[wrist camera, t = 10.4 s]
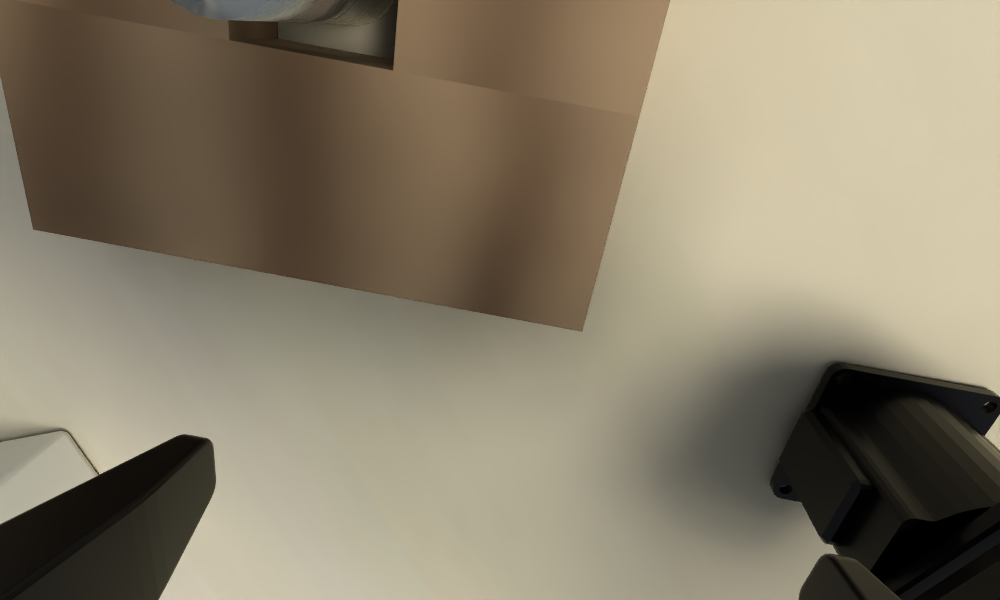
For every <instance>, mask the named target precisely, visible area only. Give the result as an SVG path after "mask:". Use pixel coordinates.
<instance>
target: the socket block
mask: <svg viewBox="0 0 1000 600" xmlns="http://www.w3.org/2000/svg"><path fill="white" fill-rule="evenodd" d="M669 3H670V0H398V13H397V26H396V39H395V52H394V60H389V59H384V58H378V57H373V56H367V55H362V54H357V53H351V52H346V51H341V50H335V49H330V48H324V47H319V46H314V45H308V44H303V43H298V42H292V41H287V40H281V39H278V22H267V21H240V20H218V19H210V18H206V17H202V16H198V15H196V14H194V13H191V12H189V11H187V10H185V9H183V8H181V7H180V6H178V5H177V4H175V3H174V2H172V1H171V0H0V75H1V80H2V85H3V90H4V94H5V99H6V104H7V108H8V113H9V118H10V122H11V127H12V132H13V137H14V141H15V146H16V151H17V155H18V160H19V165H20V169H21V174H22V179H23V184H24V188H25V193H26V198H27V202H28V207H29V212H30V216H31V221H32V226H33V229H34V230H39V231H45V232H50V233H55V234H61V235H66V236H72V237H77V238H82V239H88V240H93V241H98V242H104V243H109V244H115V245H120V246H125V247H131V248H136V249H141V250H147V251H152V252H158V253H163V254H168V255H174V256H179V257H184V258H190V259H195V260H200V261H206V262H211V263H217V264H222V265H227V266H233V267H238V268H243V269H249V270H254V271H260V272H265V273H270V274H276V275H281V276H286V277H292V278H297V279H302V280H308V281H313V282H319V283H324V284H329V285H335V286H340V287H345V288H351V289H356V290H362V291H367V292H372V293H378V294H383V295H388V296H394V297H399V298H404V299H410V300H415V301H421V302H426V303H431V304H437V305H442V306H447V307H453V308H458V309H464V310H469V311H474V312H480V313H485V314H490V315H496V316H501V317H507V318H512V319H517V320H523V321H528V322H533V323H539V324H544V325H549V326H555V327H560V328H566V329H571V330H576V331H582V330H583V326H584V323H585V319H586V315H587V311H588V308H589V304H590V300H591V296H592V292H593V289H594V285H595V281H596V277H597V274H598V270H599V266H600V262H601V259H602V255H603V251H604V247H605V244H606V240H607V236H608V232H609V228H610V225H611V221H612V217H613V213H614V210H615V206H616V202H617V198H618V195H619V191H620V187H621V183H622V180H623V176H624V172H625V168H626V164H627V161H628V157H629V153H630V149H631V146H632V142H633V138H634V134H635V131H636V127H637V123H638V119H639V116H640V112H641V108H642V104H643V100H644V97H645V93H646V89H647V85H648V82H649V78H650V74H651V70H652V67H653V63H654V59H655V55H656V51H657V48H658V44H659V40H660V36H661V33H662V29H663V25H664V21H665V18H666V14H667V10H668V6H669Z"/></svg>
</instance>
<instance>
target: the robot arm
mask: <svg viewBox="0 0 1000 600" xmlns="http://www.w3.org/2000/svg"><path fill="white" fill-rule="evenodd" d="M842 374H845V376H844V377H843V378H842V379H840V380H836V379H837V378H838V377H839V376H840V375H842ZM988 402H989V403H988ZM985 403H987V404H986V405H984V404H985ZM983 405H984V406H983ZM999 415H1000V397H999V396H998V395H997V394H996V393H994V392H993V391H990V390H986V389H980V388H975V387H970V386H964V385H959V384H954V383H948V382H943V381H937V380H932V379H927V378H921V377H916V376H911V375H905V374H900V373H894V372H889V371H884V370H878V369H873V368H868V367H862V366H857V365H852V364H846V363H837V364H834V365H832V366H830V367H829V368H828V369H827V370H826V372H825V373H824V375H823V377H822V379H821V381H820V383H819V385H818V387H817V389H816V391H815V393H814V395H813V397H812V399H811V401H810V403H809V405H808V407H807V409H806V411H805V412H803V413H802V415H801V417H800V419H799V421H798V423H797V425H796V427H795V429H794V431H793V433H792V435H791V437H790V439H789V441H788V443H787V445H786V447H785V449H784V451H783V453H782V455H781V457H780V459H779V461H780V463H779V465H778V466H777V468H776V470H775V472H774V474H773V476H772V478H771V480H770V486H771V489H772V491H773V493H774V495H776V496H777V497H779V498H782V499H787V500H793V501H798V502H801V503H802V505H803V506H804V508H805V510H806V512H807V514H808V516H809V518H810V520H811V521H812V523H813V525H814V527H815V529H816V531H817V533H818V535H819V536H820V538H821V539H822V541H823V542H824V543H825V544H831V545H833V547H834V548H835V550H836V552H837V554H838V555H834V554H825V555H823V556H821V557H820V558H819V559H818V561H817V563H816V564H815V566H814V568H813V569H812V571H811V573H810V574H809V576H808V578H807V579H806V581H805V583H804V584H803V586H802V588H801V590H800V594H799V600H1000V450H999V449H998V448H997V447H996V446H995V445H994V444H992V443H991V442H990V441H989V440H988V439H987V438H986V437H985V435H986V433H987V432H988V430H989V429H990V427H991V426H992V425H993V423H994V422H995V420H996V419H997V417H998V416H999ZM215 485H216V473H215V460H214V448H213V444H212V442H211V440H209V439H207V438H204V437H198V436H193V435H187V434H183V435H179V436H176V437H174V438H172V439H170V440H168V441H166V442H164V443H162V444H160V445H158V446H156V447H154V448H152V449H150V450H148V451H146V452H144V453H142V454H140V455H138V456H136V457H134V458H132V459H130V460H128V461H126V462H124V463H122V464H120V465H118V466H116V467H114V468H112V469H110V470H108V471H106V472H104V473H102V474H100V475H98V476H96V477H94V478H92V479H90V480H88V481H86V482H84V483H82V484H80V485H78V486H76V487H74V488H72V489H70V490H68V491H66V492H64V493H62V494H60V495H58V496H56V497H54V498H52V499H50V500H48V501H46V502H44V503H42V504H39V505H37V506H35V507H33V508H31V509H29V510H27V511H25V512H23V513H21V514H19V515H17V516H15V517H13V518H11V519H9V520H7V521H5V522H3V523H1V524H0V600H159V598H160V596H161V594H162V592H163V591H164V589H165V587H166V585H167V583H168V581H169V579H170V578H171V576H172V574H173V572H174V570H175V568H176V566H177V564H178V562H179V560H180V558H181V556H182V554H183V552H184V550H185V548H186V546H187V544H188V543H189V541H190V539H191V537H192V535H193V533H194V531H195V529H196V527H197V525H198V523H199V521H200V519H201V517H202V515H203V513H204V511H205V509H206V508H207V506H208V504H209V502H210V500H211V498H212V495H213V493H214V490H215ZM783 485H787V486H785V487H781V486H783Z"/></svg>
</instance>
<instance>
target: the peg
mask: <svg viewBox="0 0 1000 600" xmlns="http://www.w3.org/2000/svg"><path fill="white" fill-rule="evenodd" d="M171 1H172V2H174V3H175V4H177V5H178V6H180V7H181V8H183V9H185V10H187V11H189V12H191V13H194V14H196V15H198V16H202V17H206V18H210V19H218V20H240V21H267V22H294V23H321V24H349V25H363V24H368V23H371V22H374V21H376V20H378V19H380V18H381V17H382V16H384V15H385V14H386V13H387V12H388V11H389V10H390V8H391V7H392V6H393V4H394V2H395V0H171Z"/></svg>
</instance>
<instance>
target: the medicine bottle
mask: <svg viewBox="0 0 1000 600" xmlns="http://www.w3.org/2000/svg"><path fill="white" fill-rule="evenodd" d="M96 476H98V474H97V473H96V471H95V470H94V469H93V467H92V466H91V464H90V463H89V462H88V460H87V459H86V457H85V456H84V455H83V453H82V452H81V450H80V449H79V447H78V446H77V445H76V443H75V442H74V440H73V439H72V438H71V436H70V435H69V434H68V433H67V432H64V431H57V432H52V433H46V434H41V435H36V436H30V437H25V438H19V439H14V440H9V441H3V442H0V524H1V523H3V522H5V521H7V520H9V519H11V518H13V517H15V516H17V515H19V514H21V513H23V512H25V511H27V510H29V509H31V508H33V507H35V506H37V505H39V504H42V503H44V502H46V501H48V500H50V499H52V498H54V497H56V496H58V495H60V494H62V493H64V492H66V491H68V490H70V489H72V488H74V487H76V486H78V485H80V484H82V483H84V482H86V481H88V480H90V479H92V478H94V477H96Z"/></svg>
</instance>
